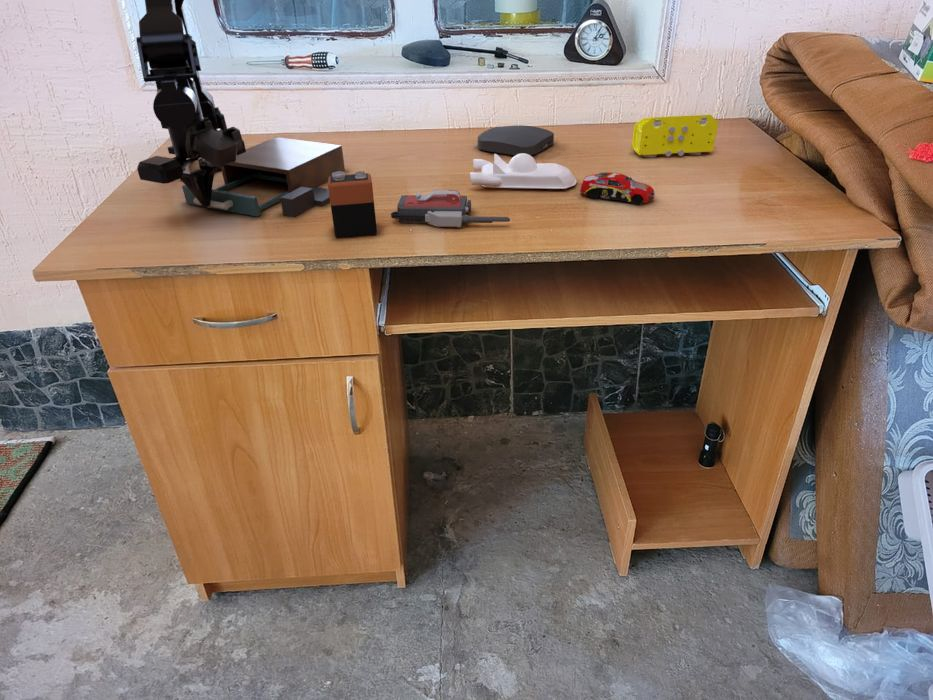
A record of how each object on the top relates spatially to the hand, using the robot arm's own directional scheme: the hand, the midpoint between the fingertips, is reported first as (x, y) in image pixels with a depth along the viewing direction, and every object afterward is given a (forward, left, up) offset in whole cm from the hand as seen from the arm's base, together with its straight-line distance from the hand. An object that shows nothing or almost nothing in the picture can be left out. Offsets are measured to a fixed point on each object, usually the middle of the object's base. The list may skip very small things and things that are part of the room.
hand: (206, 206), depth 113 cm
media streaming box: (+34, +59, -2) cm, 68 cm away
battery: (+28, +4, -2) cm, 28 cm away
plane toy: (+45, +36, -2) cm, 58 cm away
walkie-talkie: (+40, +15, -2) cm, 43 cm away
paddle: (+13, +12, -2) cm, 18 cm away
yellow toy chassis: (+67, +66, -2) cm, 94 cm away
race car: (+63, +36, -2) cm, 73 cm away
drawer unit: (0, +21, -2) cm, 21 cm away
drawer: (0, +10, -2) cm, 10 cm away
